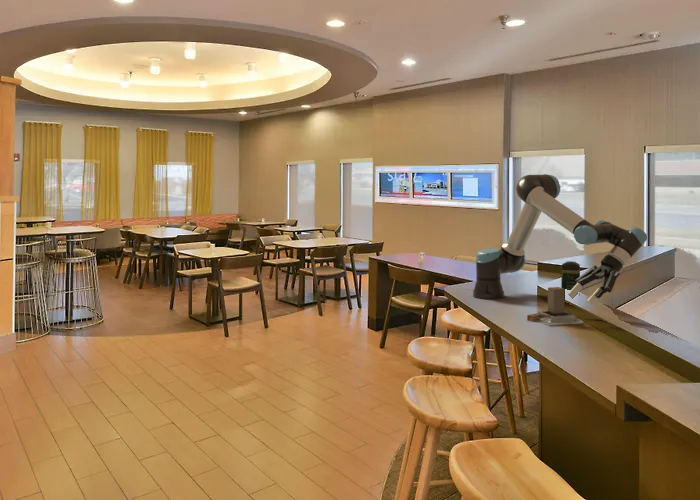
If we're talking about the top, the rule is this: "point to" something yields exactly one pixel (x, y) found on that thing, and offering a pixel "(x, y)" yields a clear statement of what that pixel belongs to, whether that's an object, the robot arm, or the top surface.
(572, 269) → the coffee jar
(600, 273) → the robot arm
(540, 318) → the keeper
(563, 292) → the stop bar
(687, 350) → the top surface
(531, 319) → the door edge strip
